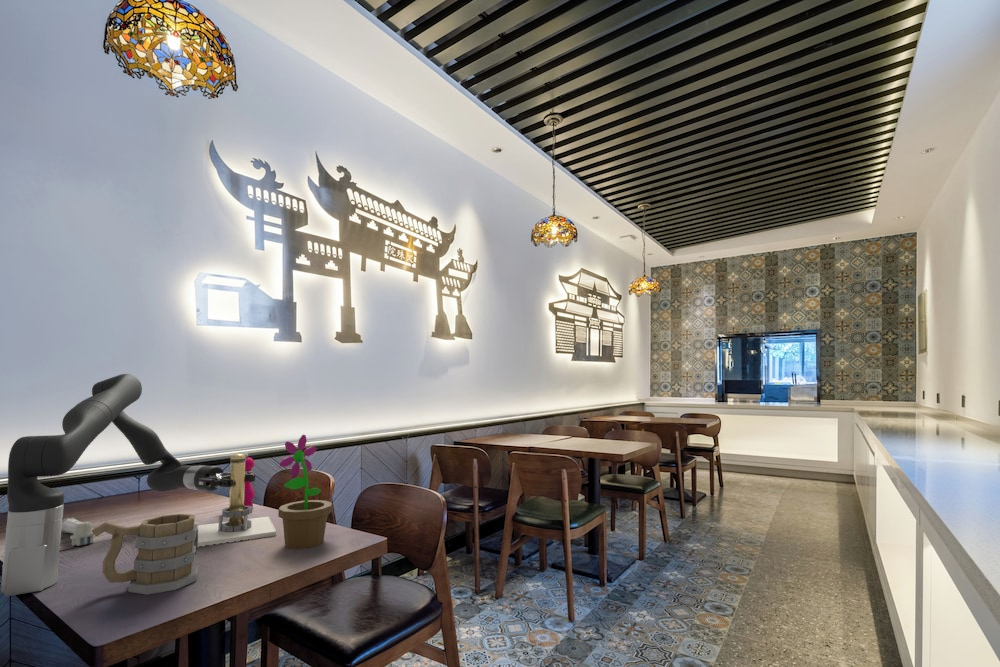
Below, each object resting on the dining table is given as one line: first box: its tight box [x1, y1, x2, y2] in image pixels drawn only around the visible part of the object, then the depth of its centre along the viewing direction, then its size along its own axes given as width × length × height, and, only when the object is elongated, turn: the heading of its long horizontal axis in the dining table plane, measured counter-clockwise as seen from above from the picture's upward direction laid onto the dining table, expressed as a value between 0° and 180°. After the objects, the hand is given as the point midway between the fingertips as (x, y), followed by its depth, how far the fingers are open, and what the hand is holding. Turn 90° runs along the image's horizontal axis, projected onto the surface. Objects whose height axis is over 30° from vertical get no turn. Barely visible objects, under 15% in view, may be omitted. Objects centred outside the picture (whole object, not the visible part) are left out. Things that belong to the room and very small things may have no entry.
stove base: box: [197, 506, 277, 548], centre depth 151 cm, size 20×20×7 cm
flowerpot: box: [277, 434, 333, 550], centre depth 142 cm, size 14×14×30 cm
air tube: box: [228, 453, 246, 526], centre depth 152 cm, size 4×4×22 cm
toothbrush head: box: [61, 516, 95, 547], centre depth 147 cm, size 5×7×25 cm
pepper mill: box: [243, 452, 256, 509], centre depth 181 cm, size 7×7×20 cm
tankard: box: [92, 513, 199, 596], centre depth 111 cm, size 20×13×15 cm, turn 118°
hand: (243, 480), depth 151 cm, fingers open, 8 cm apart
